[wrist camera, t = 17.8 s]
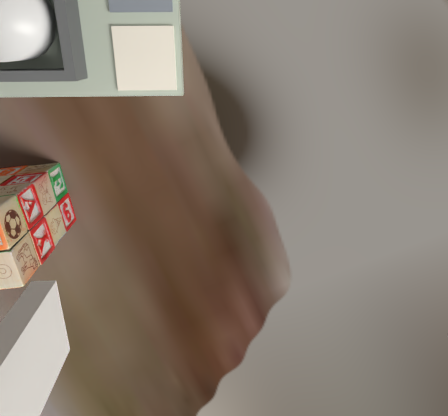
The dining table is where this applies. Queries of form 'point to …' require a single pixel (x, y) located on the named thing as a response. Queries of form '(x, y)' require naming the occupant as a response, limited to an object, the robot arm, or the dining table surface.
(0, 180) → the stack of blocks
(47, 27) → the dome
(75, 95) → the board
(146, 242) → the dining table surface
